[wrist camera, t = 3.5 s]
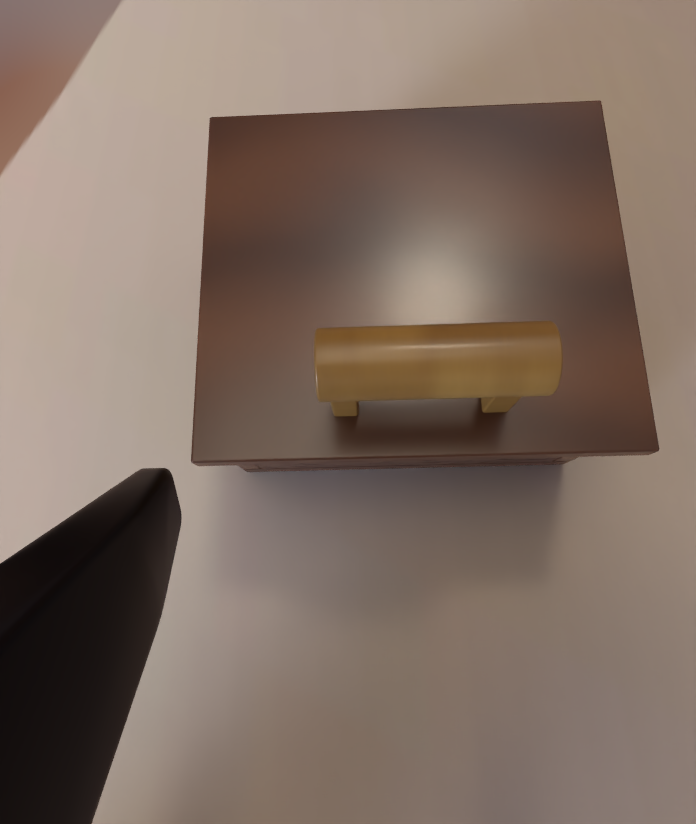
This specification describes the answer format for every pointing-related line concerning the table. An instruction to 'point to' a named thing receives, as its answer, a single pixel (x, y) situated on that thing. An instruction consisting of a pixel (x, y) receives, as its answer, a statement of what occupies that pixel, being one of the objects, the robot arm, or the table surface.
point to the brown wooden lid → (416, 289)
